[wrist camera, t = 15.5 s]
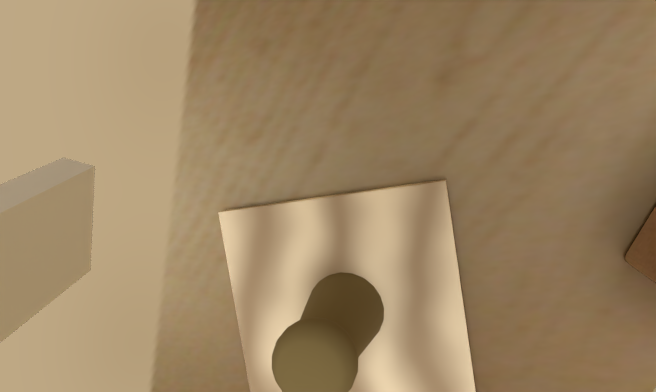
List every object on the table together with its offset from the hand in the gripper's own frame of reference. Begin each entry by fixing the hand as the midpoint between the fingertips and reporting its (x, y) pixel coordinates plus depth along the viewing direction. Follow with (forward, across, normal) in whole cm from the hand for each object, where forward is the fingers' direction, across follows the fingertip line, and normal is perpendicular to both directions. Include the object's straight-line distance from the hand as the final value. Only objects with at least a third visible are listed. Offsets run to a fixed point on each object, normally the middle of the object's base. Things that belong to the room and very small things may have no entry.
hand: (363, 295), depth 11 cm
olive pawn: (+24, 0, -16) cm, 29 cm away
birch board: (+25, 0, -17) cm, 30 cm away
